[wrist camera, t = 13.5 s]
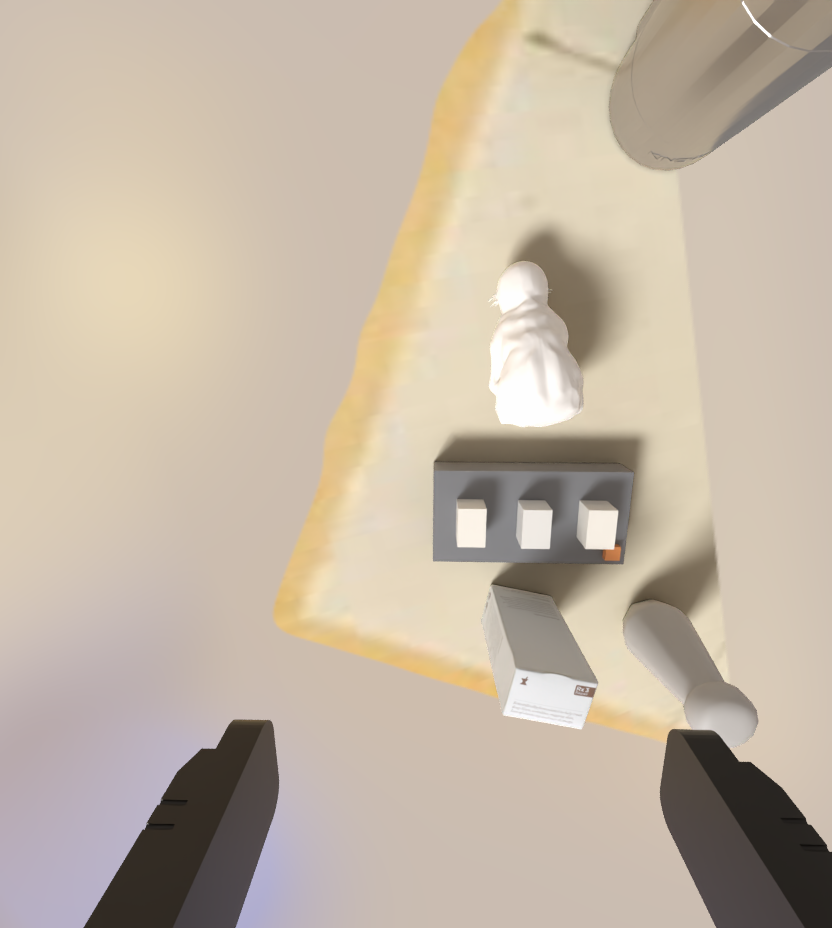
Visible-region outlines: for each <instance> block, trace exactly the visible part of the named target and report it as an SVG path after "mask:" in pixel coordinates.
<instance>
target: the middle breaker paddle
mask: <svg viewBox="0 0 832 928" xmlns="http://www.w3.org/2000/svg"><path fill="white" fill-rule="evenodd" d="M552 511H553V510H552V509H551V508H550V506H549V505H548V503H547V502H546V501H545V500H518V510H517V528H516V538H517V540H518V542H519V544H520V547H521V549H550V538H551V525H552Z"/></svg>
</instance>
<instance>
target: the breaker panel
mask: <svg viewBox="0 0 832 928" xmlns="http://www.w3.org/2000/svg"><path fill="white" fill-rule="evenodd" d="M633 477H634V472H633V471H631V470H629V469H628V468H626V467H625V466H623V465H621V464H620V463H509V462H434V499H433V561H451V562H514V563H577V564H623V563H624V554H625V546H626V537H627V529H628V520H629V511H630V503H631V494H632V486H633ZM518 500H545V501H546V502H547V503H548V505H549V506H550V508H551V509H552V510H553V511H552V525H551V538H550V549H521V547H520V544H519V542H518V540H517V538H516V528H517V510H518Z"/></svg>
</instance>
